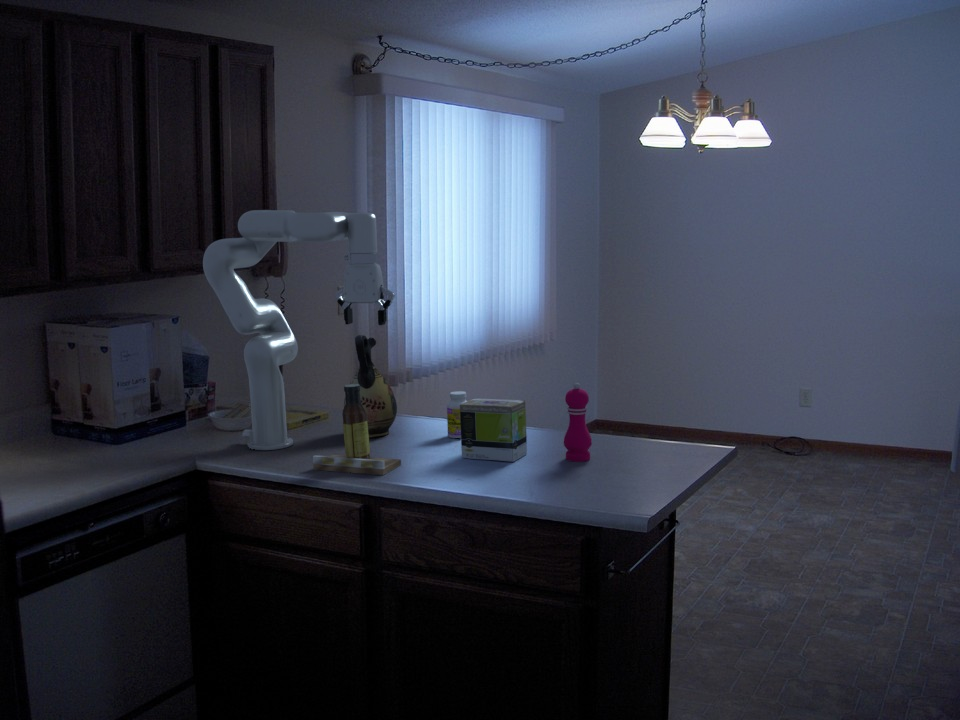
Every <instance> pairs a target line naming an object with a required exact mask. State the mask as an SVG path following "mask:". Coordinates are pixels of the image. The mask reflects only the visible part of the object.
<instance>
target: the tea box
mask: <svg viewBox="0 0 960 720" xmlns="http://www.w3.org/2000/svg"><path fill="white" fill-rule="evenodd" d="M467 401H468V402H465V403H463V404H460V425H461V439H460V444H461V445H460V446H461V458H462V459H471V460H486V461H499V462H512V463H513V462H515V461H517V460H520V459H521V458H523V457H524V456H526V455H527V454H528V453H527V450H528V444H527V443H528V442H527V441H528V440H527V438H528V436H527V414H526V413H527V412H526V411H527V410H526V400H525V399H524V400H523V399H503V398H499V399H498V398H479V397H478V398H473V399H470V400H467Z"/></svg>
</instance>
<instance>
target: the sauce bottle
mask: <svg viewBox="0 0 960 720" xmlns="http://www.w3.org/2000/svg"><path fill="white" fill-rule="evenodd" d="M343 391H344V394H345V395H344V398H345V397H346V405H345V407H344V406H343V409H342V412H341V413H342V428H343V439H344V450H345V453H344V454H345V456H346V458H358V459H370V457H371V456H370V455H371V454H370V453H371V450H370V449H371V448H370V438H369V436H368V424H367V416H366V412H365V409H364V408H363V406H362V404H361V399H360V385H359V384H350V383H349V384H345V385H344V386H343Z"/></svg>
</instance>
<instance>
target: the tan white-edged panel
mask: <svg viewBox="0 0 960 720" xmlns="http://www.w3.org/2000/svg"><path fill="white" fill-rule="evenodd" d="M400 465H401V466H402V460H401V459H399V458H398V459H397V458H396V459H395V458H385V457H384V458H383V457H373V456H372V457H371V456H370V459H358V458H346V454H345V455H343V454H331V455H329V456H328V455H313V456H312V466H313V470H315V471H329V472H339V473H350V472H351V474H363V473H364V474H365V473H366V475H375V474H379V475H378V476H385V475H386V474H388V473H389V471H390V472H392V471H393V470H395V469H397V468H398V466H399V467H400ZM396 467H397V468H396ZM394 468H395V469H394ZM391 470H392V471H391ZM387 472H388V473H387ZM385 473H386V474H385ZM384 474H385V475H384Z"/></svg>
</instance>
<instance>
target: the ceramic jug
mask: <svg viewBox="0 0 960 720" xmlns="http://www.w3.org/2000/svg"><path fill="white" fill-rule="evenodd" d="M354 344H355V350H356V355H357V360H358V365H359V366H358V368H357V370H356V372H355V374H354V375H353V377H352V379H351V382H350V383H349V384H359V385H360V399H361V404H362V406H363V408H364V409H365V412H366V416H367V424H368V436H369V439H370V438H375V437H382V436H387V435H389V434H390V428H391V427H392V426H393V423H394V422H395V420H396V417H397V413H398V405H397V400H396V398H395V394H394V391H393V389H392V388H391V386H390V384H389V383H388V381H387V380H386V379H385V377H384V376H383V374H382V373H381V372H380V371H379V369H377V367H376V365H374V363H373V361H372V349H373V348H374V347H375V346H376V344H377V340H376V339H375V338H374V337H369V338H367V337H366V335H363V334H359V335H356V336H355V338H354ZM345 405H346V397H345V396H344V401H343V408H344V407H345Z"/></svg>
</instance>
